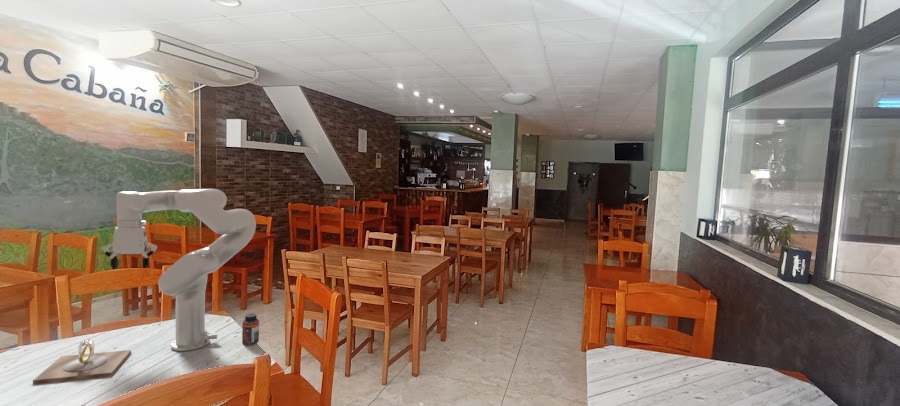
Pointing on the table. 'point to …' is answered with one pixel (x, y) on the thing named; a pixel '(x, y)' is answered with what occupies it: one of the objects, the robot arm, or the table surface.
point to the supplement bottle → (250, 329)
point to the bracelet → (81, 353)
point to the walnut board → (83, 367)
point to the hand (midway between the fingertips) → (130, 268)
